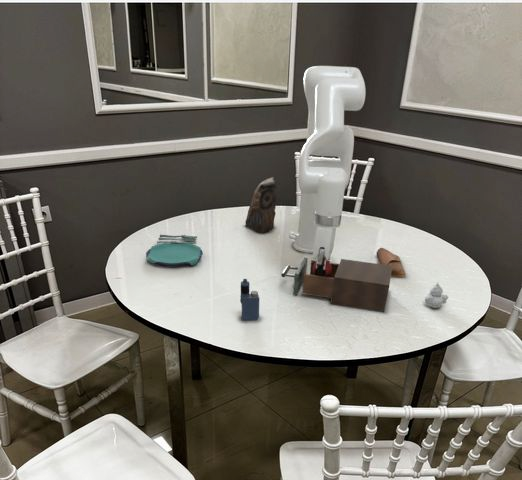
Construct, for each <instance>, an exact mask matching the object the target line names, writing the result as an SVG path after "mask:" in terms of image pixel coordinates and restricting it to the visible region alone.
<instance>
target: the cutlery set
mask: <svg viewBox="0 0 522 480" xmlns="http://www.w3.org/2000/svg"><path fill="white" fill-rule="evenodd" d="M197 238H198V236H196V235H194V236H192V235H186V234H182V235H168V234H159V237H158V241H157V242H156V244H155V245H152V246H151V248H149V249H148V250H146V253H145V257H146V259H147V262H149V263H151V264H153V265H154V264H159V265H164V266H181V265H186V264H189V265H191V266H193V267H194V266H196V265H197V264H198V262H199V259H201V258H202V256H203V255H204V253H203V250H202V247H200V246H198V245H196V241H197Z"/></svg>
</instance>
